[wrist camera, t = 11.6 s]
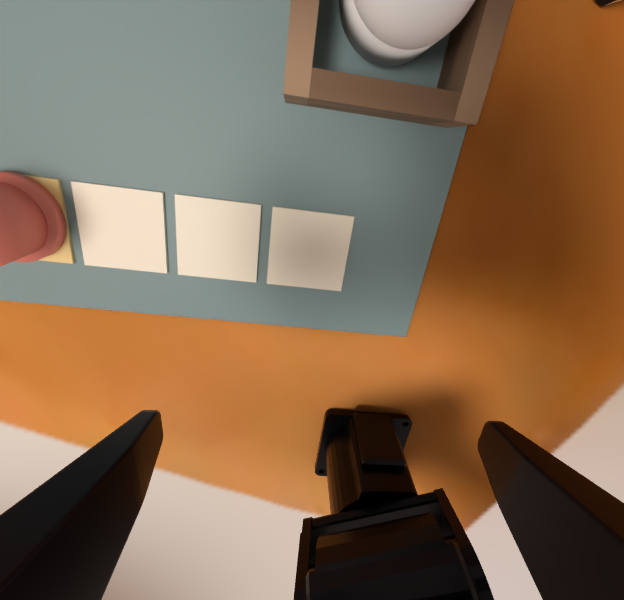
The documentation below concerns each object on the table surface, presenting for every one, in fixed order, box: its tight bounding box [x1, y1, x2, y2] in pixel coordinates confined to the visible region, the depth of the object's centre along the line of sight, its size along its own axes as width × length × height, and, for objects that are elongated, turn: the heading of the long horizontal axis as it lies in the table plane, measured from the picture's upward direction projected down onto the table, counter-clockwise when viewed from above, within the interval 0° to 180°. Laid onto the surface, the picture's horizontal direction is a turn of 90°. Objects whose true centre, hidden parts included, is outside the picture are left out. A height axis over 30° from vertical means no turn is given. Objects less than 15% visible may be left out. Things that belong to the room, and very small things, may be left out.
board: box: [0, 0, 467, 337], centre depth 16 cm, size 20×28×1 cm
